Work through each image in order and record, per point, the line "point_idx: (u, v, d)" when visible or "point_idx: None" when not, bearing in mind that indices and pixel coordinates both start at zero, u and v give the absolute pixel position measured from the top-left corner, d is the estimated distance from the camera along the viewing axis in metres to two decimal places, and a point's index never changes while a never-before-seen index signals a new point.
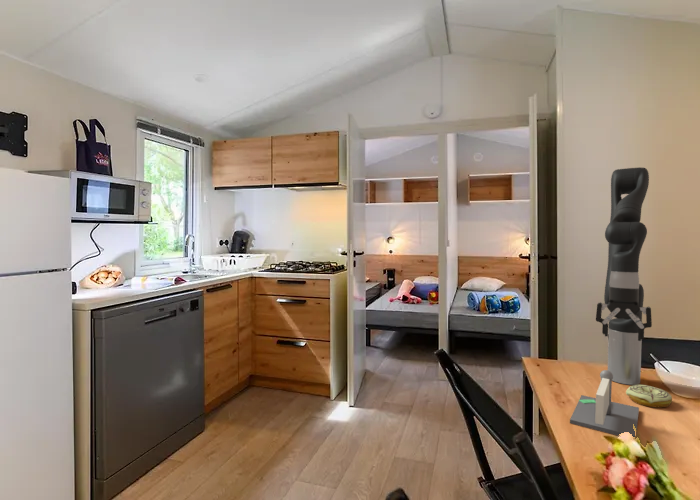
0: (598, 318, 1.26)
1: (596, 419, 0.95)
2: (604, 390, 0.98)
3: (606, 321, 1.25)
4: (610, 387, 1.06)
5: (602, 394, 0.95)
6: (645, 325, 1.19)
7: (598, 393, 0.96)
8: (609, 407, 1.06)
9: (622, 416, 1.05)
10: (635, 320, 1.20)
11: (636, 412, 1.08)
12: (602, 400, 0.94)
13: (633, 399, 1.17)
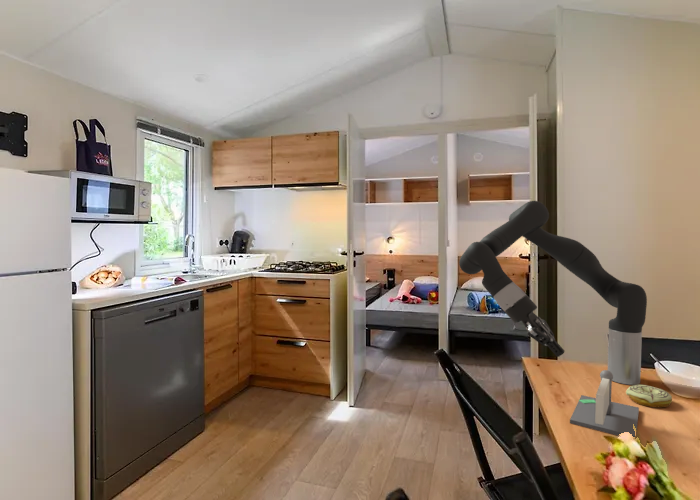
0: (547, 337, 1.03)
1: (596, 419, 0.95)
2: (604, 390, 0.98)
3: (551, 337, 1.05)
4: (610, 387, 1.06)
5: (602, 394, 0.95)
6: None
7: (598, 393, 0.96)
8: (609, 407, 1.06)
9: (622, 416, 1.05)
10: (548, 329, 1.06)
11: (636, 412, 1.08)
12: (602, 400, 0.94)
13: (633, 399, 1.17)
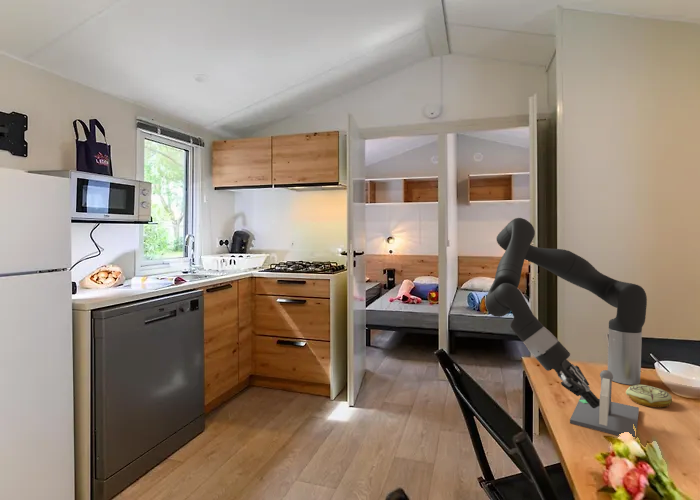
0: (582, 387, 0.98)
1: (600, 420, 0.95)
2: (607, 391, 0.97)
3: (586, 387, 1.00)
4: (610, 387, 1.06)
5: (606, 395, 0.95)
6: None
7: (602, 394, 0.95)
8: (609, 407, 1.06)
9: (622, 416, 1.05)
10: (582, 378, 1.01)
11: (636, 412, 1.08)
12: (606, 401, 0.94)
13: (633, 399, 1.17)
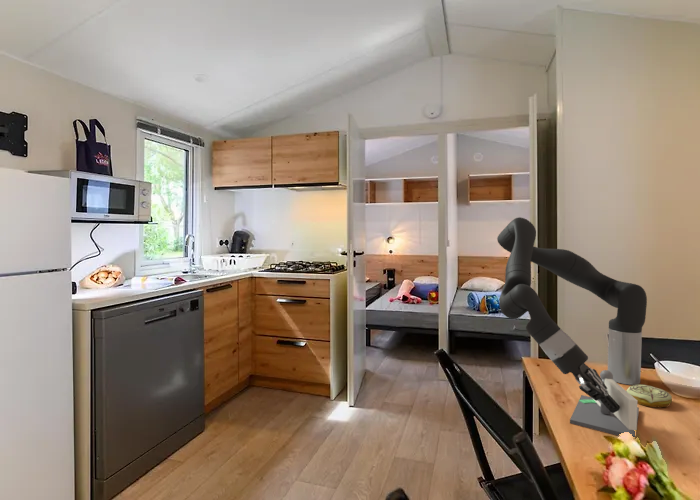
0: (601, 392, 0.96)
1: (630, 425, 0.92)
2: (628, 393, 0.96)
3: (604, 391, 0.98)
4: None
5: (633, 398, 0.93)
6: None
7: (629, 398, 0.93)
8: None
9: None
10: (601, 381, 0.99)
11: None
12: (636, 405, 0.92)
13: None
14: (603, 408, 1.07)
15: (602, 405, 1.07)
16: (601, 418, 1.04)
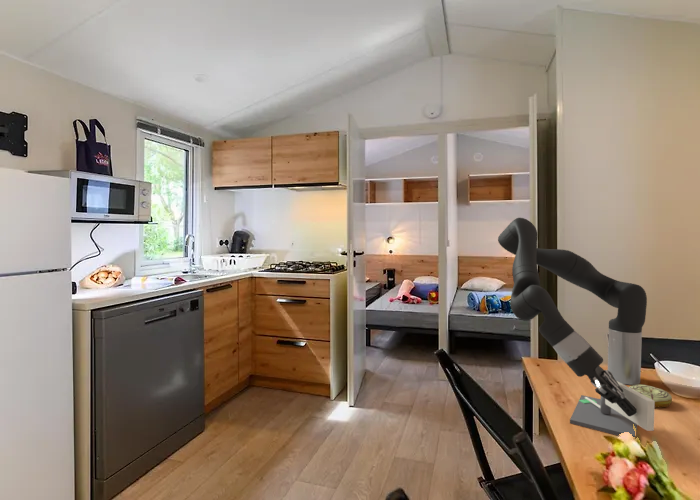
0: (618, 394, 0.94)
1: (648, 427, 0.92)
2: (640, 393, 0.95)
3: (621, 394, 0.96)
4: None
5: (649, 399, 0.92)
6: None
7: (646, 399, 0.92)
8: (610, 406, 1.06)
9: (622, 416, 1.05)
10: (616, 384, 0.97)
11: None
12: (653, 405, 0.91)
13: None
14: (604, 409, 1.06)
15: (603, 405, 1.06)
16: (601, 418, 1.04)
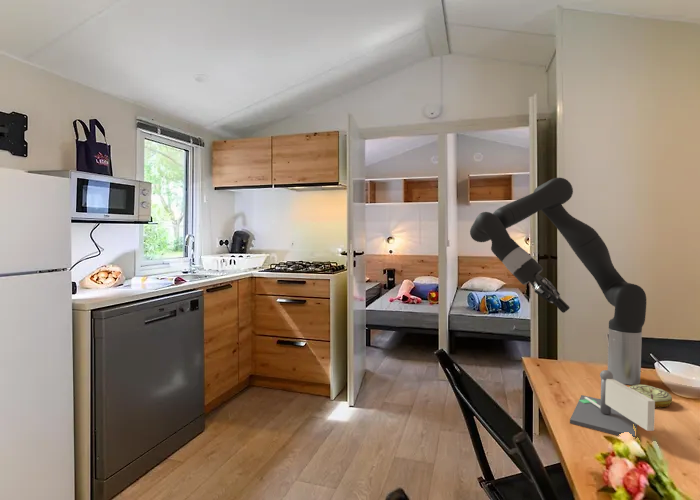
0: (553, 294, 1.12)
1: (648, 427, 0.92)
2: (640, 393, 0.95)
3: (556, 295, 1.13)
4: None
5: (650, 399, 0.92)
6: None
7: (646, 399, 0.92)
8: (610, 406, 1.06)
9: (622, 416, 1.05)
10: (554, 288, 1.15)
11: None
12: (653, 405, 0.91)
13: None
14: (604, 409, 1.06)
15: (603, 405, 1.06)
16: (601, 418, 1.04)
